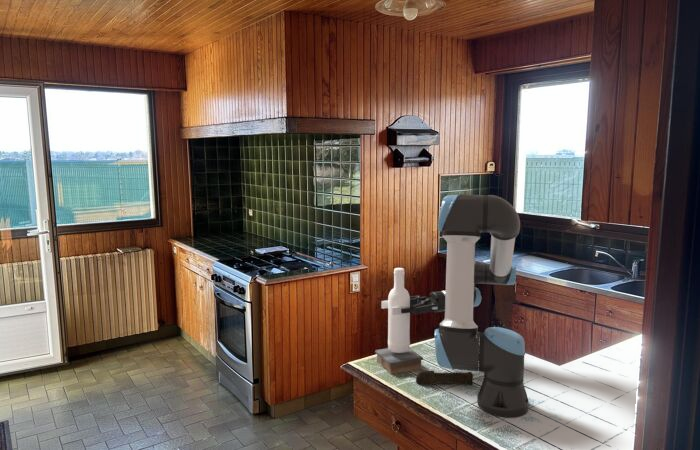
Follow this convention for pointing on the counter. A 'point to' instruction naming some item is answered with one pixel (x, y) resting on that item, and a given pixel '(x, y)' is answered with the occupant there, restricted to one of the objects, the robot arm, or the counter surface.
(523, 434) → the counter surface
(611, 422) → the counter surface
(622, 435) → the counter surface
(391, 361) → the slate stand
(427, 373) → the hand tool
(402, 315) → the bottle
